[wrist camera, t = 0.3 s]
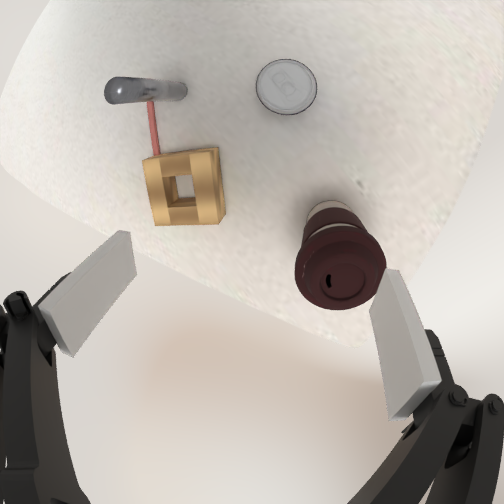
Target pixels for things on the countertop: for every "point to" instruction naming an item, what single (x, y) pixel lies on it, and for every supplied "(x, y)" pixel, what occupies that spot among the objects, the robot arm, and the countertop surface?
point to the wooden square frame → (204, 180)
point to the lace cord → (153, 128)
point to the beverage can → (286, 87)
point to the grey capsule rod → (142, 90)
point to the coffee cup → (338, 259)
